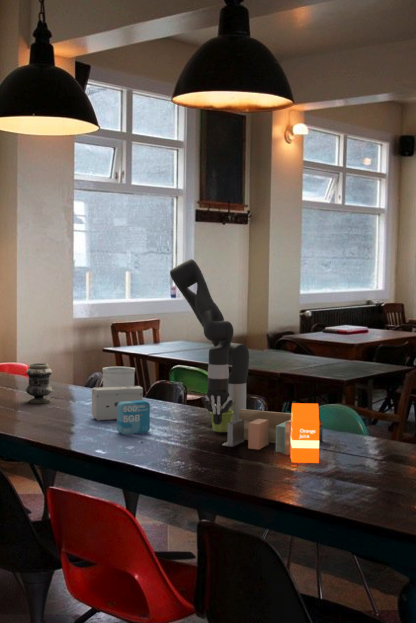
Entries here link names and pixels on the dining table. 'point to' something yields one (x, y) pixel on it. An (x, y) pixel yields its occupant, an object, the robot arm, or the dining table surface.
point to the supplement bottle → (320, 429)
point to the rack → (274, 420)
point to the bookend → (235, 433)
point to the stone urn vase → (39, 382)
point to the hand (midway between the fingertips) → (217, 424)
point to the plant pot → (225, 420)
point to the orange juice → (304, 433)
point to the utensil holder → (118, 376)
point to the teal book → (280, 437)
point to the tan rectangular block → (258, 434)
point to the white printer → (112, 399)
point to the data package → (133, 417)
